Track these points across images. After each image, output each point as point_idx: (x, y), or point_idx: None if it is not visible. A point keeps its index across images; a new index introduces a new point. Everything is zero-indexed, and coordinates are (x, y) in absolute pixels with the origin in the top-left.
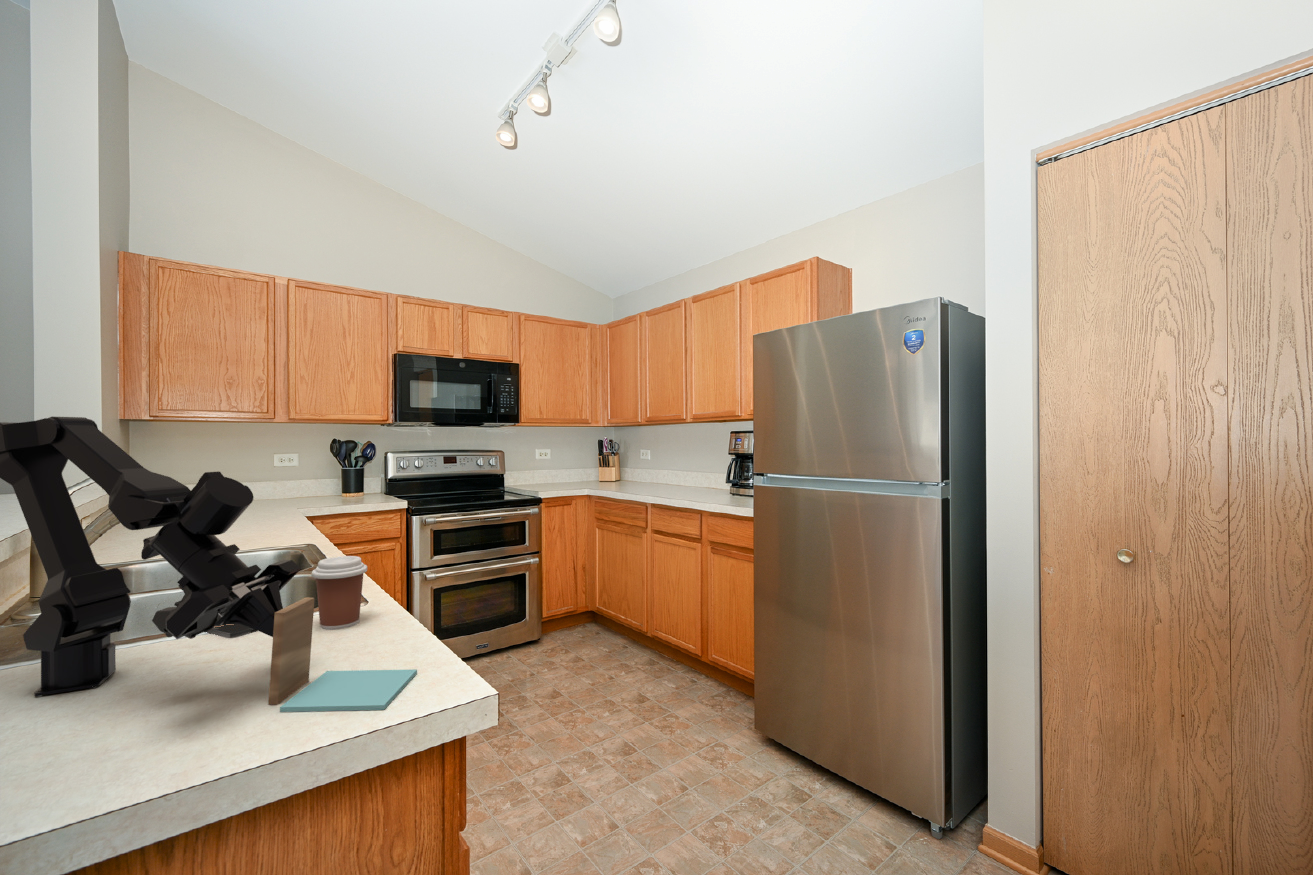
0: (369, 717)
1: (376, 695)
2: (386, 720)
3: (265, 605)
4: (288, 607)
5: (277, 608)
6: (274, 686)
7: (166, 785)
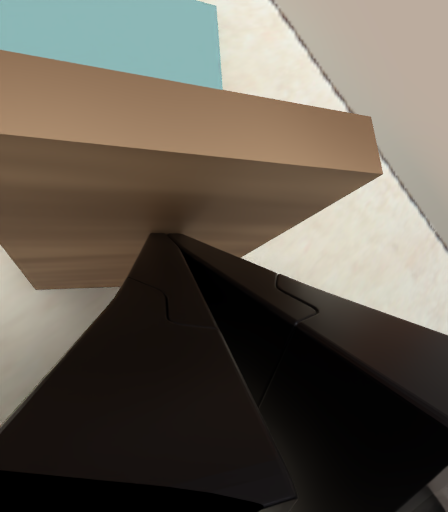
0: (242, 36)
1: (169, 29)
2: (251, 5)
3: (333, 304)
4: (272, 141)
5: (195, 283)
6: None
7: (433, 264)
